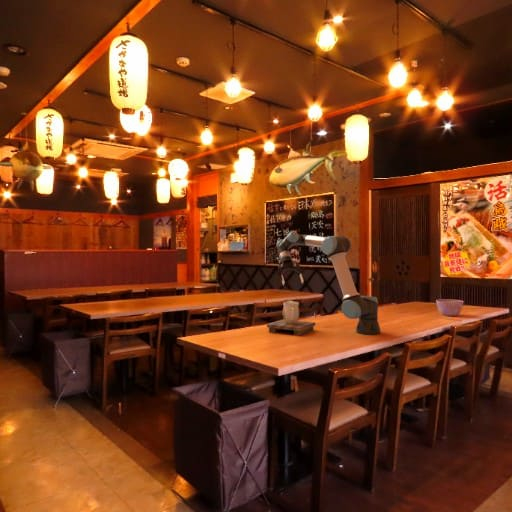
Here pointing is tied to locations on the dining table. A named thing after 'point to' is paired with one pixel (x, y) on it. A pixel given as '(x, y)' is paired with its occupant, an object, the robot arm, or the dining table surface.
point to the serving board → (291, 326)
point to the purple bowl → (449, 306)
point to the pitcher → (291, 312)
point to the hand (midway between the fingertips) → (293, 283)
